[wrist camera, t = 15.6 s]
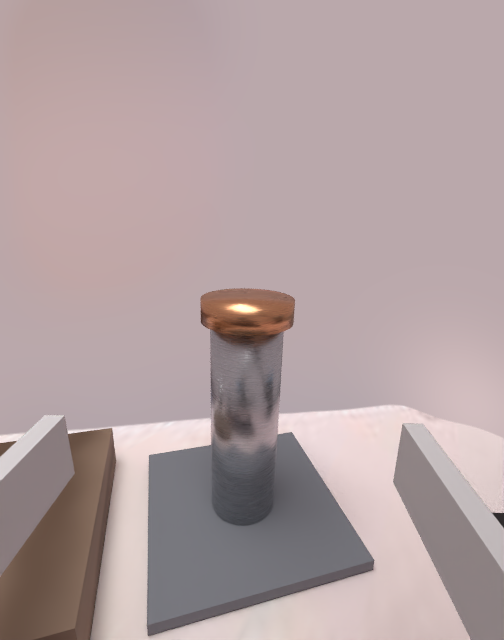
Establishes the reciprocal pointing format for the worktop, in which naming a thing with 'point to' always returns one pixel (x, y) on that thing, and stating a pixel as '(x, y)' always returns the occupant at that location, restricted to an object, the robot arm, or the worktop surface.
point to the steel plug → (245, 397)
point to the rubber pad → (240, 539)
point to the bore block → (62, 551)
